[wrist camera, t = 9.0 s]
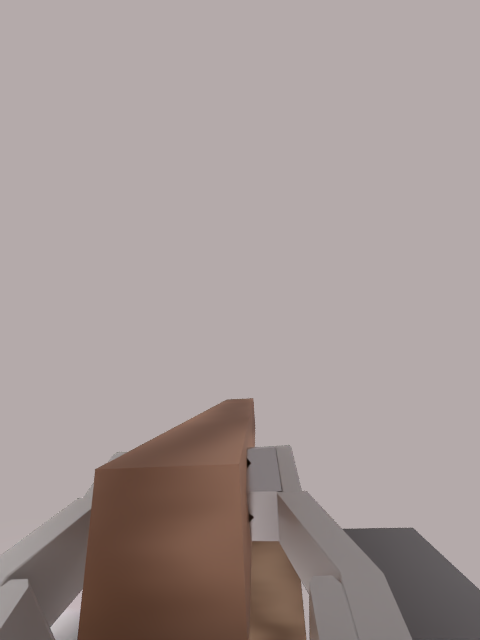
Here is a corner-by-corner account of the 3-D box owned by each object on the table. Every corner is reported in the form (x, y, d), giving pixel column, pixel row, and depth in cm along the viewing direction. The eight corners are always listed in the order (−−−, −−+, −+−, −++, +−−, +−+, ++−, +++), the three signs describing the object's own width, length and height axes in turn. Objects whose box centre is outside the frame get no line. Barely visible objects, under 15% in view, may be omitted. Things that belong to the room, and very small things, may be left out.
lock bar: (74, 668, 4) (95, 469, 5) (227, 428, 25) (226, 399, 26) (249, 669, 4) (239, 463, 5) (255, 427, 25) (253, 398, 26)
